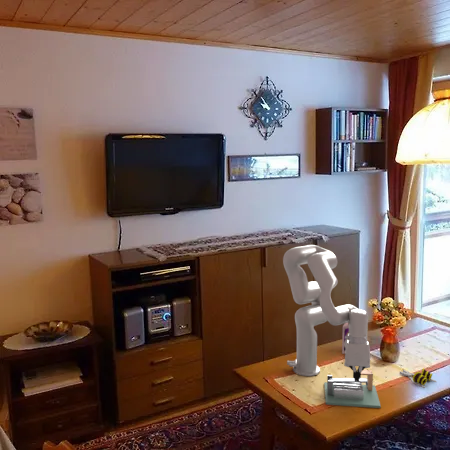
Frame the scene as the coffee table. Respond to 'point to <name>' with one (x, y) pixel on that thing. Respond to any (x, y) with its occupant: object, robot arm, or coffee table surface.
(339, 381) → the strap
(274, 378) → the coffee table surface
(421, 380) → the opera glasses
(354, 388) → the heatsink
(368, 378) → the bracket
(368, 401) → the circuit board
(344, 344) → the greeting card
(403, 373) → the pliers
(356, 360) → the robot arm
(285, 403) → the coffee table surface
